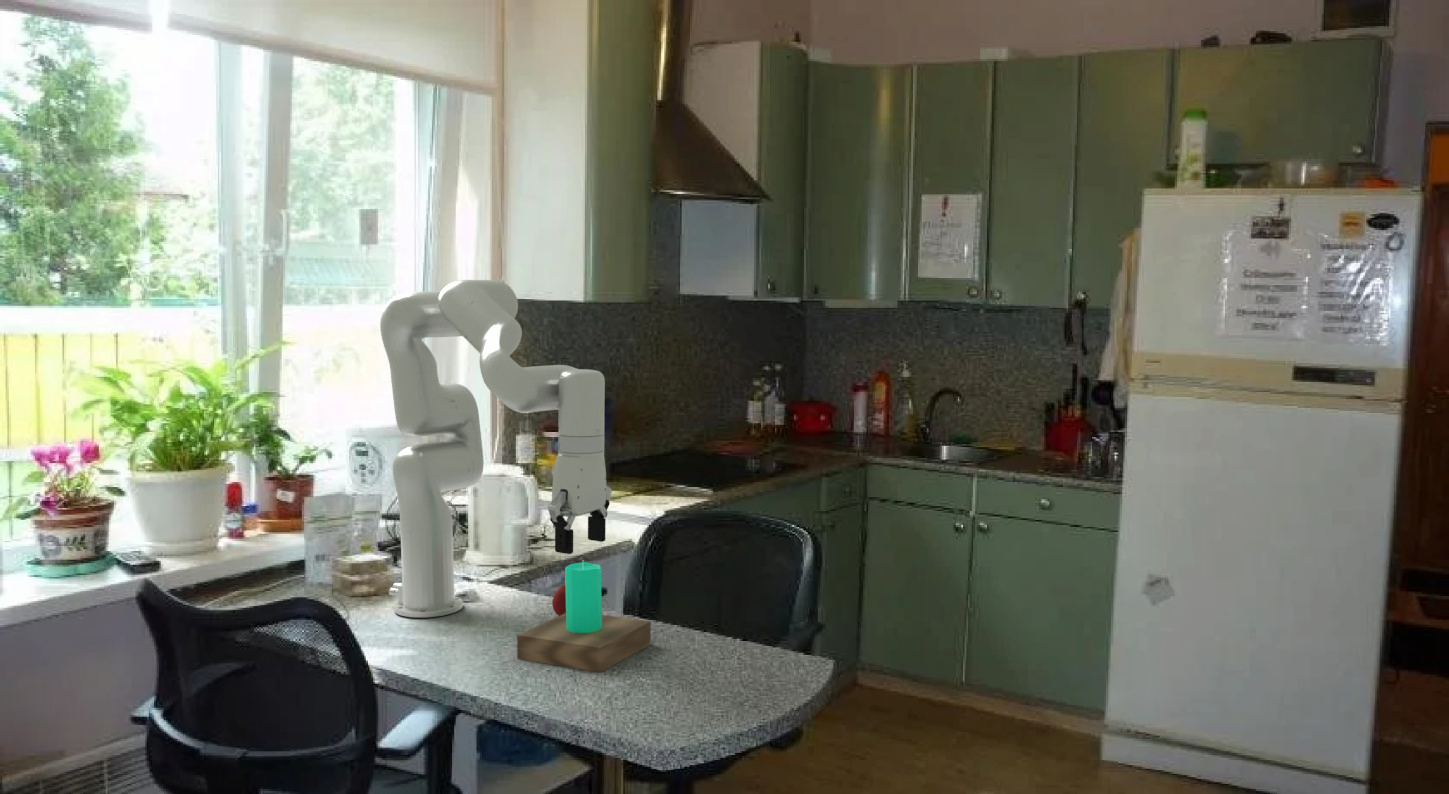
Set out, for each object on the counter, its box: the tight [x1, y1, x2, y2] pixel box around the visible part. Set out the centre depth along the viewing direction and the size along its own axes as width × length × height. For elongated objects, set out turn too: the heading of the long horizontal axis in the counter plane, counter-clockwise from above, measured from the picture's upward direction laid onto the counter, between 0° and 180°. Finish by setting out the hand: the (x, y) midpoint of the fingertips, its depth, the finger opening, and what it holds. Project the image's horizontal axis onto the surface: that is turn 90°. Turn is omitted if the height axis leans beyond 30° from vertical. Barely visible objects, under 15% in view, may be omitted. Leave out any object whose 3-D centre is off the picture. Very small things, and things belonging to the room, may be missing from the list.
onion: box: [551, 581, 566, 617], centre depth 210 cm, size 6×6×8 cm
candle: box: [564, 561, 603, 633], centre depth 193 cm, size 6×6×12 cm
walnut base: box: [516, 613, 652, 673], centre depth 194 cm, size 16×16×4 cm
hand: (580, 546), depth 193 cm, fingers open, 9 cm apart
